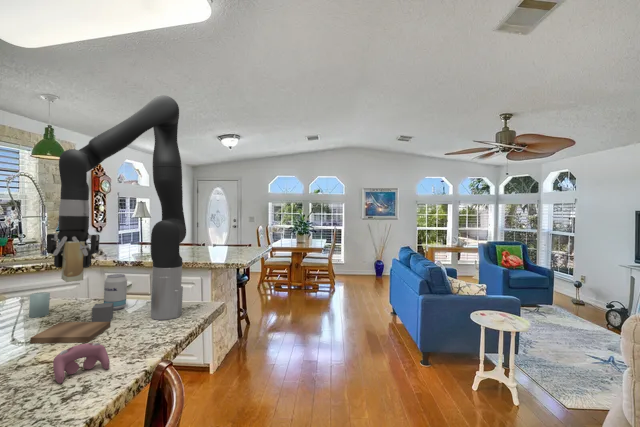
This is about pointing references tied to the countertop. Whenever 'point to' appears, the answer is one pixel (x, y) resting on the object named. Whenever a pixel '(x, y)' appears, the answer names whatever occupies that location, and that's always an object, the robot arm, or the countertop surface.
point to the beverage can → (115, 290)
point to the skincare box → (72, 262)
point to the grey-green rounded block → (39, 304)
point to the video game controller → (68, 357)
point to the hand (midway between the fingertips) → (72, 267)
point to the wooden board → (71, 332)
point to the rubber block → (102, 312)
